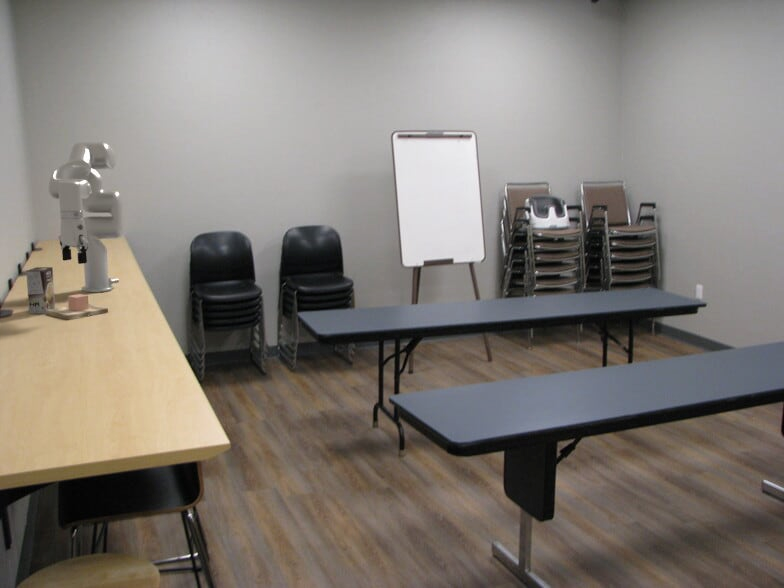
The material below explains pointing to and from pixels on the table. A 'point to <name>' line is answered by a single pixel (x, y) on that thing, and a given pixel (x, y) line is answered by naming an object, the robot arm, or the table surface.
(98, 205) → the robot arm
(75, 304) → the coral cube
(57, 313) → the birch board
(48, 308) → the coffee box
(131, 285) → the table surface
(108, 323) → the table surface
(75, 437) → the table surface
